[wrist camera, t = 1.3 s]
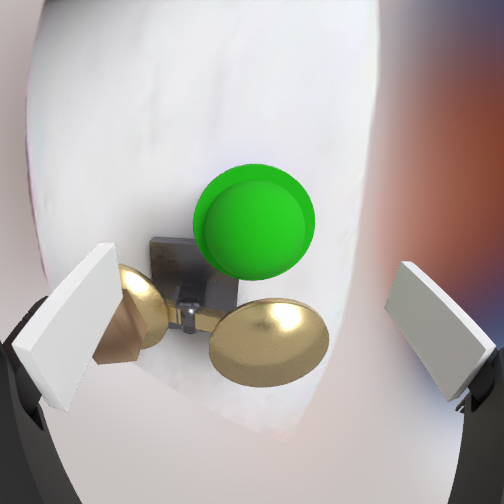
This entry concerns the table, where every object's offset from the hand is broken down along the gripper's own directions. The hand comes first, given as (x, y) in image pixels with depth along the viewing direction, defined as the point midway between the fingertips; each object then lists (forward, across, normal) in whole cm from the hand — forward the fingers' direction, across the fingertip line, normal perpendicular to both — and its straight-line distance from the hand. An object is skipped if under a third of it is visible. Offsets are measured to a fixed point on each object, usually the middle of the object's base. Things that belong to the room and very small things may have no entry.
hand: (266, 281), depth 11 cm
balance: (+18, -5, -12) cm, 22 cm away
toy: (+18, 0, 0) cm, 18 cm away
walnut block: (+12, -13, -12) cm, 21 cm away
